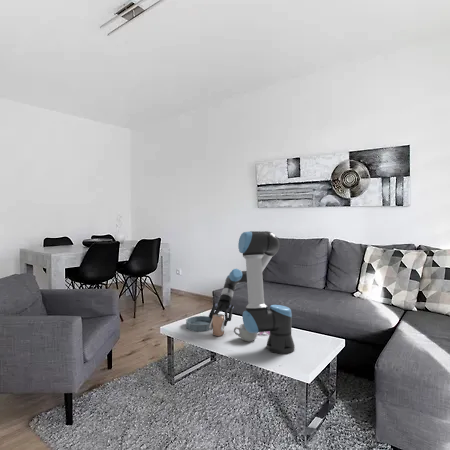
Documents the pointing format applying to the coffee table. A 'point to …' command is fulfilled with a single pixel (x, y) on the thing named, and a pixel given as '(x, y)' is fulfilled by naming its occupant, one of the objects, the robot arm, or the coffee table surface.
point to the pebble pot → (217, 324)
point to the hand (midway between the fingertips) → (216, 329)
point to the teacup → (245, 333)
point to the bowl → (198, 323)
